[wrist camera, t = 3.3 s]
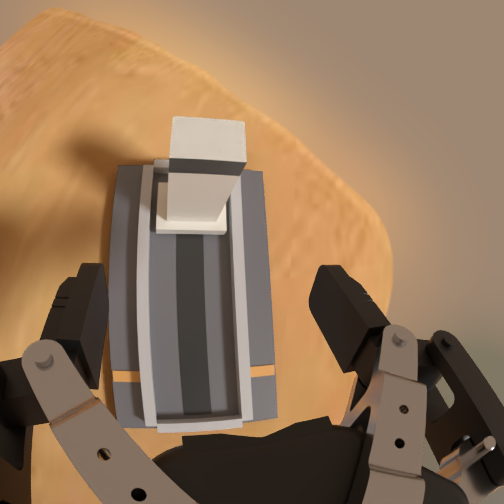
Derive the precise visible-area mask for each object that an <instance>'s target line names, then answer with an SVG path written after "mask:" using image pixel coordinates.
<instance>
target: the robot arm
mask: <svg viewBox="0 0 504 504" xmlns="http://www.w3.org/2000/svg"><path fill="white" fill-rule="evenodd" d="M309 308H310V311H311V313H312V315H313V317H314V319H315V320H316V322H317V324H318V326H319V328H320V330H321V332H322V334H323V335H324V337H325V339H326V341H327V343H328V345H329V347H330V349H331V350H332V352H333V354H334V356H335V358H336V360H337V362H338V364H339V366H340V367H341V369H342V371H343V373H347V372H352V371H356V373H357V375H356V377H355V378H354V381H353V385H352V389H351V393H350V397H349V401H348V405H347V408H346V412H345V415H344V418H343V420H342V422H341V424H340V425H332V424H331V421H330V419H329V417H328V416H326V417H321V418H317V419H312V420H308V421H303V422H298V423H295V424H293V425H290V426H288V427H286V428H284V429H282V430H279V431H277V432H275V433H272V434H270V435H268V436H265V437H247V436H237V435H228V434H210V435H194V436H182V443H183V445H181V446H178V447H174V448H172V449H169V450H167V451H165V452H163V453H161V454H159V455H158V456H156V457H155V458H154V459H152V460H151V459H150V458H149V457H148V456H147V455H146V454H145V453H144V451H143V450H142V449H141V448H140V447H139V446H138V445H137V444H136V443H135V441H134V440H133V439H132V438H131V437H130V436H129V435H128V433H127V432H126V431H125V430H124V429H123V427H122V426H121V425H120V424H119V423H118V421H117V420H116V419H115V418H114V416H113V415H112V414H111V413H110V411H109V410H108V409H107V407H106V406H105V405H104V404H103V402H102V401H101V400H100V399H99V398H98V397H97V398H96V397H95V396H94V395H93V393H92V392H91V390H90V389H97V390H98V388H99V378H100V369H101V361H102V354H103V347H104V340H105V334H106V328H107V322H108V316H109V298H108V292H107V285H106V279H105V272H104V266H103V264H102V263H82V264H81V266H80V269H79V271H78V274H77V277H68V278H67V279H66V280H65V281H64V282H63V283H62V284H61V285H60V286H59V289H58V291H57V294H56V296H55V299H54V301H53V304H52V308H51V309H50V312H49V315H48V317H47V320H46V323H45V326H44V329H43V332H42V335H41V338H40V340H39V341H36V342H34V343H32V344H31V345H30V346H28V348H27V349H26V350H25V351H24V353H23V356H22V357H21V358H17V359H12V360H7V361H1V362H0V504H31V450H32V435H33V425H38V424H44V423H49V422H50V424H49V426H50V428H51V430H52V432H53V434H54V435H55V437H56V439H57V440H58V442H59V444H60V445H61V447H62V448H63V450H64V452H65V453H66V455H67V456H68V458H69V459H70V461H71V462H72V464H73V465H74V467H75V468H76V469H77V471H78V472H79V474H80V475H81V476H82V478H83V479H84V480H85V482H86V483H87V485H88V486H89V487H90V488H91V490H92V491H93V492H94V494H95V495H96V496H97V497H98V499H99V500H100V501H101V502H102V503H103V504H478V503H479V502H480V501H482V500H483V499H484V498H485V497H487V496H488V495H489V494H490V493H492V492H494V491H496V490H497V489H499V488H501V487H502V486H504V407H503V405H502V403H501V402H500V400H499V399H498V397H497V395H496V394H495V392H494V391H493V389H492V388H491V386H490V385H489V383H488V382H487V380H486V379H485V377H484V376H483V374H482V373H481V371H480V370H479V368H478V367H477V366H476V364H475V363H474V361H473V360H472V359H471V357H470V356H469V354H468V353H467V352H466V351H465V349H464V347H463V346H462V345H461V343H460V342H459V341H458V340H457V338H456V337H455V336H453V335H452V334H450V333H449V332H446V331H442V330H439V331H436V332H435V333H434V334H433V336H432V337H431V339H430V340H420V339H416V338H415V336H414V335H413V334H412V332H411V331H409V330H408V329H406V328H405V327H402V326H399V325H391V324H390V322H389V321H388V320H387V318H386V317H385V316H384V314H383V313H382V312H381V310H380V309H379V308H378V306H377V305H376V304H375V302H373V300H372V298H371V297H370V296H369V295H367V292H366V291H365V289H364V288H363V287H362V285H361V284H359V283H358V282H357V281H355V280H354V279H353V278H351V277H349V276H348V274H347V273H346V272H345V270H344V269H343V268H342V267H341V266H340V265H321V266H320V267H319V269H318V271H317V274H316V277H315V281H314V284H313V287H312V290H311V293H310V296H309ZM441 377H444V379H445V380H446V382H447V383H448V385H449V387H450V388H451V390H452V391H453V393H454V397H455V400H454V404H453V405H452V407H451V408H450V409H449V408H448V406H447V404H446V403H445V401H444V399H443V397H442V396H441V394H440V393H439V391H438V389H437V388H436V386H435V385H436V384H437V382H438V381H439V380H440V379H441ZM425 437H426V439H427V441H428V443H429V445H430V447H431V449H432V451H433V453H434V455H435V457H436V460H437V462H438V464H439V466H440V471H438V472H437V473H435V472H433V471H431V470H429V469H427V468H425V467H423V466H422V459H423V449H424V439H425Z"/></svg>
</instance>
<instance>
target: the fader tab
mask: <svg viewBox="0 0 504 504" xmlns="http://www.w3.org/2000/svg"><path fill="white" fill-rule="evenodd" d="M246 163H247V159H246V141H245V122H243V121H234V120H223V119H212V118H198V117H180V116H173V123H172V133H171V144H170V156H169V173H168V183H163V182H159V183H158V198H157V216H156V234H213V235H224V234H225V233H226V231H227V225H226V202H227V200H228V198H229V196H230V194H231V192H232V190H233V188H234V186H235V184H236V182H237V180H238V178H239V176H240V174H241V172H242V170H243V168H244V167H245V165H246Z"/></svg>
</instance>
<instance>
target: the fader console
mask: <svg viewBox="0 0 504 504" xmlns="http://www.w3.org/2000/svg"><path fill="white" fill-rule="evenodd" d="M168 173H169V160H162V159H154V165H118V172H117V179H116V187H115V195H114V204H113V214H112V226H111V239H110V257H109V341H110V358H111V371H112V383H113V392H114V401H115V409H116V417H117V421H118V423H119V424H120V425H121V426H122V427H123V428H157V430H158V433H172V432H196V431H210V430H222V429H232V428H241V427H243V424H242V423H245V422H253V421H261V420H267V419H274V418H278V414H277V393H276V372H275V353H274V335H273V318H272V301H271V285H270V269H269V254H268V239H267V225H266V211H265V197H264V184H263V171H251V170H242V172H241V174H240V176H239V178H238V180H237V182H236V184H235V186H234V188H233V190H232V192H231V194H230V196H229V198H228V200H227V202H226V225H227V231H226V233H225V234H224V235H213V234H156V216H157V198H158V183H159V182H163V183H168Z"/></svg>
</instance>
